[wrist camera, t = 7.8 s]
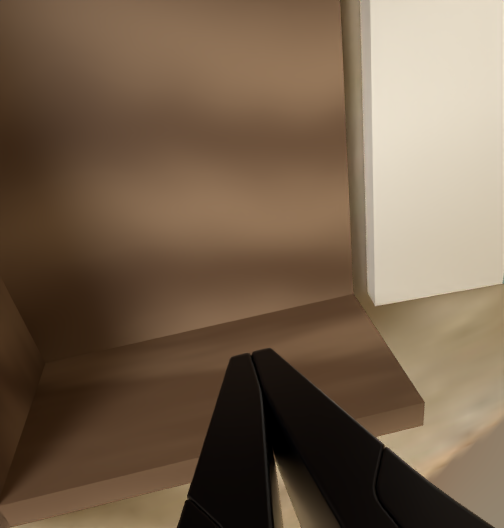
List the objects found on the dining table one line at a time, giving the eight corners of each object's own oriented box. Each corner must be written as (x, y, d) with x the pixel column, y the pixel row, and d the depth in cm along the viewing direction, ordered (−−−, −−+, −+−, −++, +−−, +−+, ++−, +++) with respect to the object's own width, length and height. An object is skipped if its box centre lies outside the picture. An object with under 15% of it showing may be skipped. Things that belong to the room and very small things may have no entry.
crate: (347, 302, 23) (423, 425, 16) (35, 373, 22) (-24, 535, 15) (317, -253, 13) (482, -536, 6) (-260, -169, 12) (-819, -402, 5)
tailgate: (367, 292, 23) (511, 266, 23) (375, 306, 22) (526, 279, 22) (353, -239, 13) (604, -284, 13) (366, -260, 12) (638, -309, 12)
